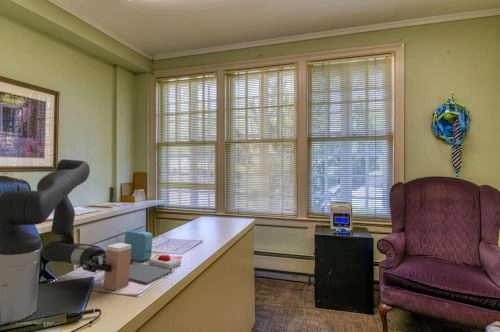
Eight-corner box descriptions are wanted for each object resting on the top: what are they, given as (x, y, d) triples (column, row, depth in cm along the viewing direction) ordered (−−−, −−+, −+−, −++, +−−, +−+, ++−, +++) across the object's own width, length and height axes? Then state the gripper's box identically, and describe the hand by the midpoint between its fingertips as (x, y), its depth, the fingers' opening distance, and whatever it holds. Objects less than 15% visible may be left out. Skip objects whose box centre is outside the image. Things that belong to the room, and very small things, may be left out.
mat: (147, 284, 97) (147, 282, 97) (105, 274, 105) (106, 271, 105) (172, 272, 110) (172, 270, 110) (134, 263, 118) (134, 261, 118)
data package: (151, 259, 125) (153, 232, 125) (144, 262, 121) (145, 234, 121) (131, 255, 129) (132, 229, 130) (123, 257, 125) (125, 231, 125)
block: (115, 290, 91) (118, 248, 92) (103, 287, 93) (106, 245, 94) (128, 285, 96) (131, 244, 97) (117, 281, 98) (119, 242, 99)
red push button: (185, 254, 121) (169, 260, 112) (184, 264, 121) (169, 271, 112) (163, 250, 126) (147, 255, 117) (163, 259, 126) (146, 265, 117)
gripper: (70, 251, 94) (104, 259, 88) (105, 242, 107) (138, 249, 101) (68, 273, 94) (103, 283, 88) (104, 262, 107) (136, 269, 101)
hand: (121, 265), depth 94 cm, fingers open, 8 cm apart
